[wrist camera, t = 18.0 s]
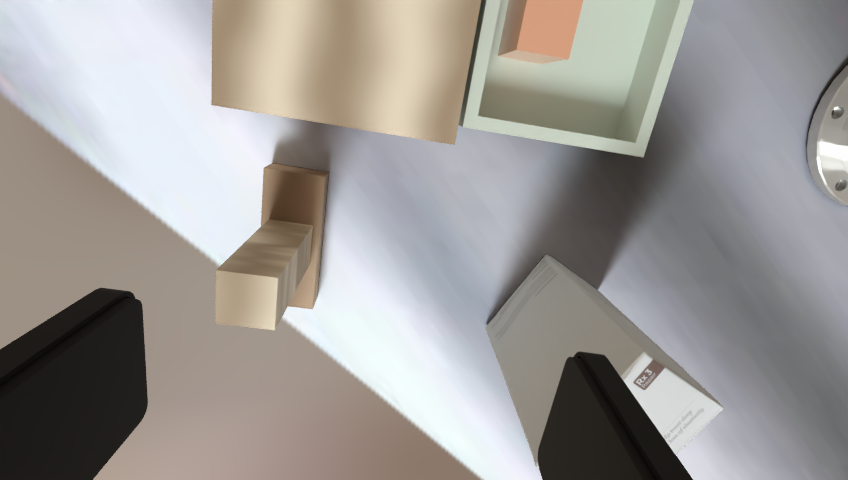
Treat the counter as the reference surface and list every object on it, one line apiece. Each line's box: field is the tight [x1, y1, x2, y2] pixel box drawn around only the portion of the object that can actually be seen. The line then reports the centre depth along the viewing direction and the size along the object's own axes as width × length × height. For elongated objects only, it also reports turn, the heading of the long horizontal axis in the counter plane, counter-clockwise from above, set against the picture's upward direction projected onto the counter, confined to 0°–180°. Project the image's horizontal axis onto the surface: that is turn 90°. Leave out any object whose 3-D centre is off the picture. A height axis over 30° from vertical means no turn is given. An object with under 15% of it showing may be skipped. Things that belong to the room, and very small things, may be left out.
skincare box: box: [485, 254, 723, 468], centre depth 28 cm, size 8×6×15 cm
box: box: [459, 0, 694, 157], centre depth 27 cm, size 12×14×4 cm
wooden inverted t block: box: [216, 163, 329, 330], centre depth 27 cm, size 4×10×11 cm, turn 171°
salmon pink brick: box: [498, 0, 583, 64], centre depth 26 cm, size 5×5×3 cm
